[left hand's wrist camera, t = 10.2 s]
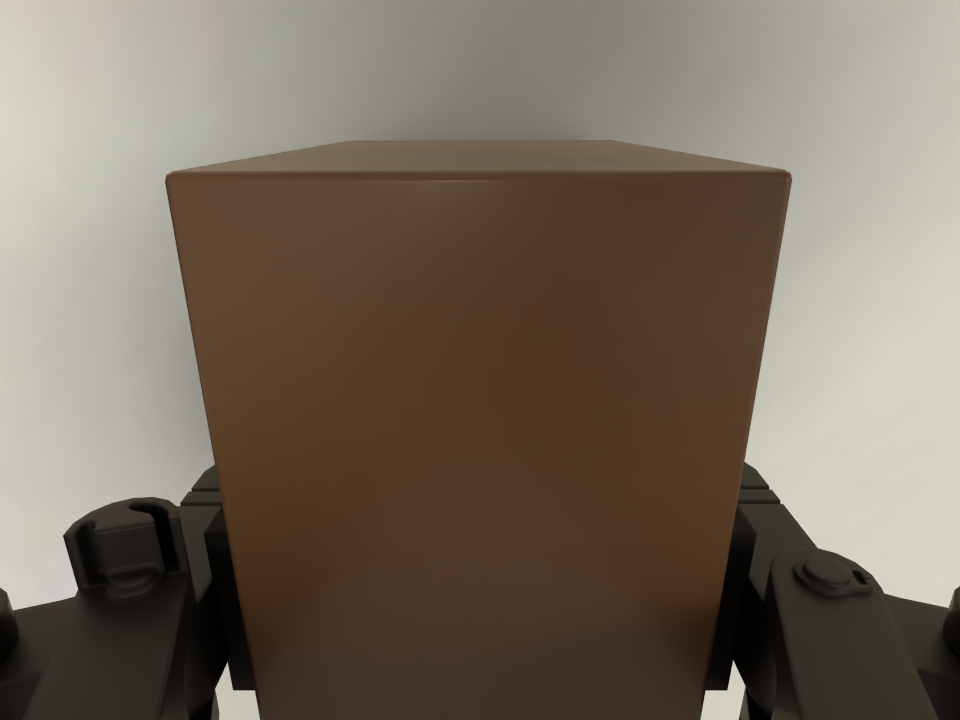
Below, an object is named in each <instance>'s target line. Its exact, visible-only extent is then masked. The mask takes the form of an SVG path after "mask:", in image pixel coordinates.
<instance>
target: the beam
mask: <svg viewBox="0 0 960 720" xmlns="http://www.w3.org/2000/svg"><path fill="white" fill-rule="evenodd" d="M791 183H792V178H791V174H790V172H788V171H785V170H783V169H777V168H771V167H765V166H759V165H753V164H747V163H742V162H736V161H730V160H724V159H718V158H712V157H706V156H700V155H694V154H688V153H682V152H676V151H670V150H664V149H658V148H652V147H647V146H641V145H635V144H629V143H623V142H617V141H611V140H587V141H346V142H340V143H335V144H329V145H323V146H317V147H312V148H306V149H300V150H294V151H288V152H283V153H277V154H271V155H265V156H260V157H254V158H248V159H242V160H236V161H231V162H225V163H219V164H213V165H208V166H202V167H196V168H190V169H184V170H179V171H173V172H171V173H169V174H167V176H166V181H165V184H166V189H167V195H168V201H169V206H170V212H171V218H172V223H173V229H174V234H175V240H176V246H177V251H178V257H179V263H180V268H181V274H182V280H183V285H184V291H185V297H186V302H187V308H188V314H189V319H190V325H191V331H192V336H193V342H194V348H195V353H196V359H197V365H198V370H199V376H200V382H201V387H202V393H203V398H204V404H205V410H206V415H207V421H208V427H209V432H210V438H211V444H212V449H213V455H214V461H215V466H216V472H217V478H218V483H219V489H220V495H221V500H222V506H223V512H224V517H225V523H226V529H227V534H228V540H229V546H230V551H231V557H232V562H233V568H234V574H235V579H236V585H237V591H238V596H239V602H240V608H241V613H242V619H243V625H244V630H245V636H246V642H247V647H248V653H249V659H250V664H251V670H252V676H253V681H254V687H255V693H256V698H257V704H258V710H259V715H260V720H700V719H701V713H702V707H703V701H704V696H705V690H706V684H707V678H708V672H709V666H710V660H711V654H712V648H713V643H714V637H715V631H716V625H717V619H718V613H719V607H720V601H721V595H722V590H723V584H724V578H725V572H726V566H727V560H728V554H729V548H730V542H731V536H732V531H733V525H734V519H735V513H736V507H737V501H738V495H739V489H740V483H741V478H742V472H743V466H744V460H745V454H746V448H747V442H748V436H749V430H750V425H751V419H752V413H753V407H754V401H755V395H756V389H757V383H758V377H759V372H760V366H761V360H762V354H763V348H764V342H765V336H766V330H767V324H768V318H769V313H770V307H771V301H772V295H773V289H774V283H775V277H776V271H777V265H778V260H779V254H780V248H781V242H782V236H783V230H784V224H785V218H786V212H787V207H788V201H789V195H790V189H791Z"/></svg>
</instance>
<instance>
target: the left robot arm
mask: <svg viewBox="0 0 960 720" xmlns="http://www.w3.org/2000/svg"><path fill="white" fill-rule="evenodd" d="M63 538H64V541H65V544H66V548H67V551H68V555H69V558H70V562H71V565H72V569H73V572H74V576H75V579H76V583H77V586H78V591H77V594H76V596H75V597H72V598H68V599H65V600H61V601H56V602H51V603H46V604H42V605H37V606H32V607H28V608H23V609H18V610H14V611H13V610H12V607H11V604H10V601H9V598H8V595H7V593H6V592H5V591H4V590H2V589H1V588H0V720H219V708H218V702H217V697H216V692H215V688H216V686H217V684H218V681H219V679H220V677H221V675H222V673H223V671H224V668H225V666H226V664H227V662H228V666H229V671H230V676H231V681H232V687H233V690H255V687H254V681H253V676H252V670H251V664H250V659H249V653H248V647H247V642H246V636H245V630H244V625H243V619H242V613H241V608H240V602H239V596H238V591H237V585H236V579H235V574H234V568H233V562H232V557H231V551H230V546H229V540H228V534H227V529H226V523H225V517H224V512H223V506H222V500H221V495H220V489H219V483H218V478H217V472H216V466H215V465H214V466H212V467H211V468H209V469H208V470H206V471H205V472H204V473H203V475H202V476H201V477H200V478H199V480H198V481H197V482H196V484H195V485H194V486H193V487H192V491H191V492H189V493H188V494H187V495H186V496H185V498H184V499H183V500H182V502H181V505H180V506H178V507H177V506H175V505H174V504H173V503H171V502H170V501H169V500H165V499H160V498H155V497H146V498H132V499H128V500H123V501H119V502H115V503H111V504H109V505H106V506H104V507H101V508H99V509H97V510H94V511H92V512H90V513H88V514H87V515H85V516H84V517H82V518H81V519H79V520H78V521H76V522H75V523H73V525H72V526H71V527H70V528H69V529H68V530H67V532H66V533H65V534H64V535H63ZM733 660H734V662H735V664H736V667H737V669H738V671H739V673H740V675H741V677H742V679H743V682H744V684H745V686H746V687H745V692H744V697H743V702H742V707H741V711H740V716H739V720H960V587H958V588H957V589H955V591H954V594H953V597H952V600H951V603H950V605H949V608H945V607H941V606H936V605H931V604H927V603H922V602H917V601H912V600H908V599H903V598H898V597H895V596H891V595H887V594H884V593H883V590H882V588H881V587H880V585H879V584H878V583H877V581H876V580H875V579H874V577H873V576H872V575H871V574H870V573H869V572H867V571H866V570H865V569H863V568H862V567H861V566H859V565H858V564H857V563H855V562H853V561H851V560H849V559H847V558H845V557H843V556H841V555H838V554H836V553H833V552H829V551H825V550H822V549H818V548H817V547H816V545H815V544H814V543H813V542H812V540H811V539H810V538H809V537H808V535H807V534H806V533H805V531H804V530H803V529H802V528H801V526H800V525H799V524H798V523H797V521H796V520H795V519H794V517H793V516H792V515H791V514H790V512H789V511H788V510H787V508H786V507H785V506H784V505H783V504H780V500H779V498H778V497H777V496H776V494H775V493H774V492H773V491H772V490H769V486H768V484H767V483H766V482H765V480H764V479H763V478H762V477H761V475H760V474H759V473H758V472H757V470H756V469H755V468H753V467H751V466H750V465H748V464H747V463H745V462H744V466H743V472H742V478H741V483H740V489H739V495H738V501H737V507H736V513H735V519H734V525H733V531H732V536H731V542H730V548H729V554H728V560H727V566H726V572H725V578H724V584H723V590H722V595H721V601H720V607H719V613H718V619H717V625H716V631H715V637H714V643H713V648H712V654H711V660H710V666H709V672H708V678H707V684H706V690H727V689H728V684H729V678H730V673H731V668H732V663H733Z"/></svg>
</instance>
